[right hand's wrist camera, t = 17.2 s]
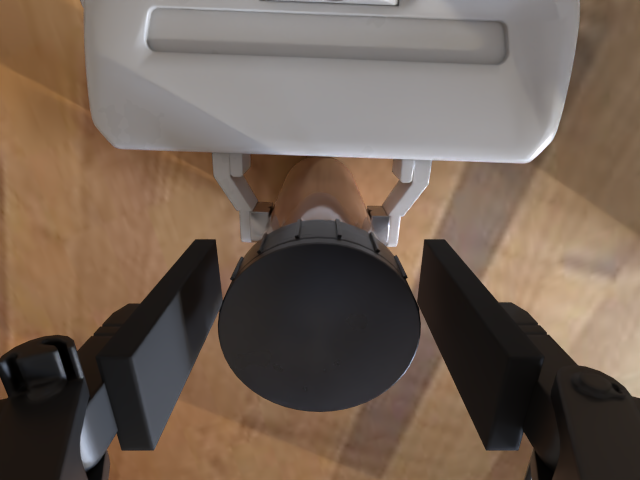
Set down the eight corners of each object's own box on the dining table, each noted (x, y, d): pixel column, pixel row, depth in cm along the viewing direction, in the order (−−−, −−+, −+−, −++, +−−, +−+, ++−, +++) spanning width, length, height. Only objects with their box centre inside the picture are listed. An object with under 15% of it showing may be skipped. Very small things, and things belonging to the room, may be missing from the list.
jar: (360, 223, 26) (409, 380, 12) (289, 232, 26) (253, 397, 12) (352, 150, 24) (400, 232, 10) (276, 161, 24) (214, 256, 10)
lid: (317, 178, 11) (317, 195, 9) (442, 299, 12) (464, 334, 10) (196, 301, 12) (174, 337, 10) (320, 394, 14) (320, 441, 12)
